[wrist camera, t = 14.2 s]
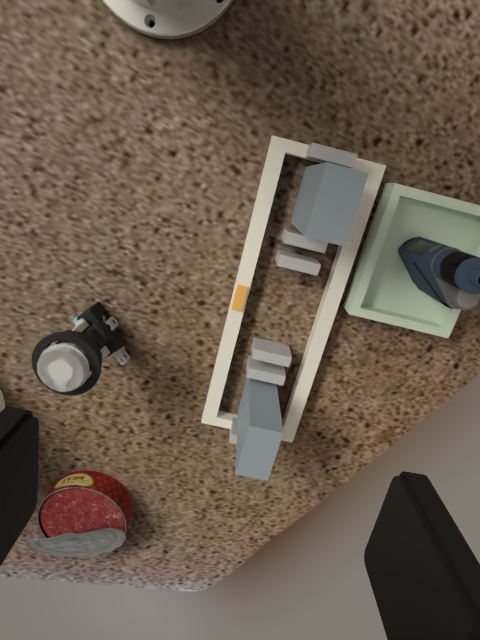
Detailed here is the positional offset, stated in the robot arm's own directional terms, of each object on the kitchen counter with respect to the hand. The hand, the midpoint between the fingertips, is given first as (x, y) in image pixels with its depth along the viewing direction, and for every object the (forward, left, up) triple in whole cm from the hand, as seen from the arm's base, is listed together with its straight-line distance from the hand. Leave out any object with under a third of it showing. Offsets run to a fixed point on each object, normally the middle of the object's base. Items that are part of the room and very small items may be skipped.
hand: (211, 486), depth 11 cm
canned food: (+32, -10, -30) cm, 44 cm away
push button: (+10, -11, -29) cm, 33 cm away
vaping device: (-4, +16, -29) cm, 33 cm away
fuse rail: (+3, +5, -29) cm, 30 cm away
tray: (-4, +16, -29) cm, 33 cm away
